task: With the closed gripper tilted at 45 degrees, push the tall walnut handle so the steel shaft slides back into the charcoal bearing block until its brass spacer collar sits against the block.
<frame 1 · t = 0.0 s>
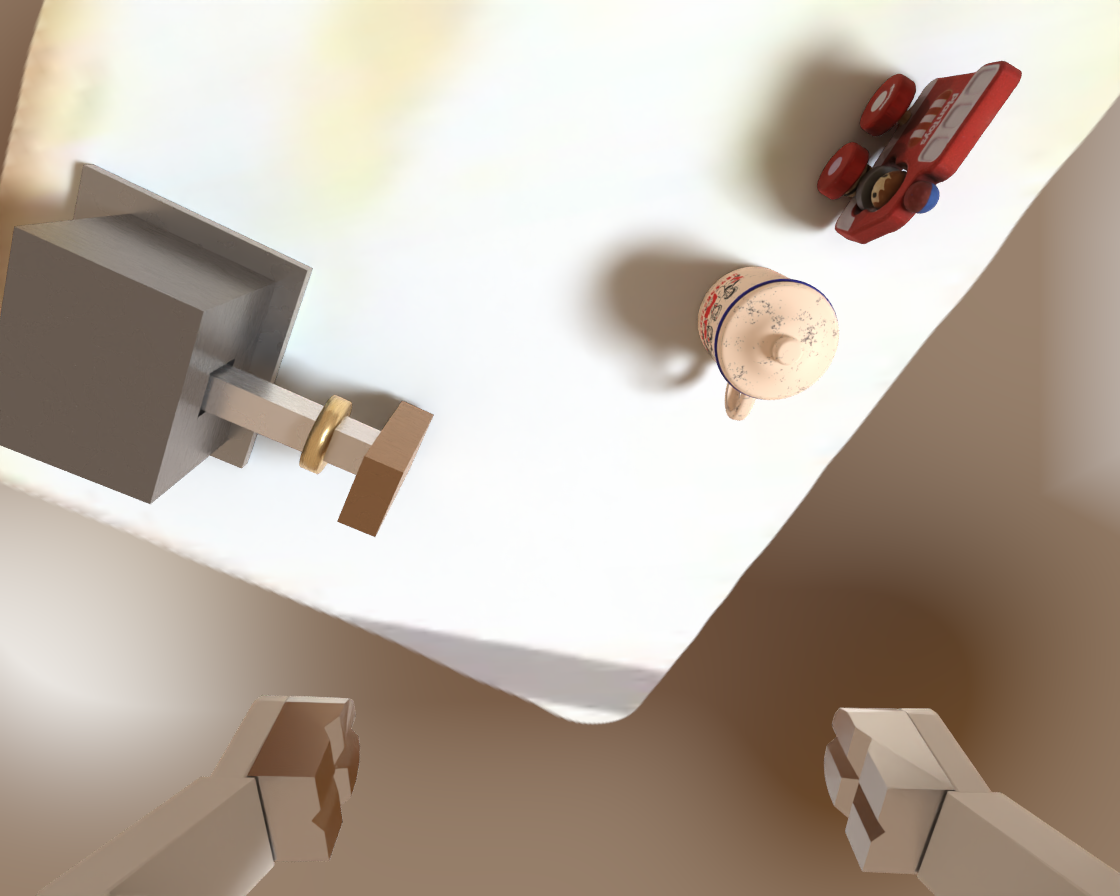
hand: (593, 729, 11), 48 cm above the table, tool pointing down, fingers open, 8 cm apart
shaft: (283, 417, 52), point 8 cm above the table, slide at 8.0 cm
bearing block: (189, 332, 57), on the table
toy fire truck: (877, 159, 52), on the table
teacup with lid: (740, 333, 57), on the table
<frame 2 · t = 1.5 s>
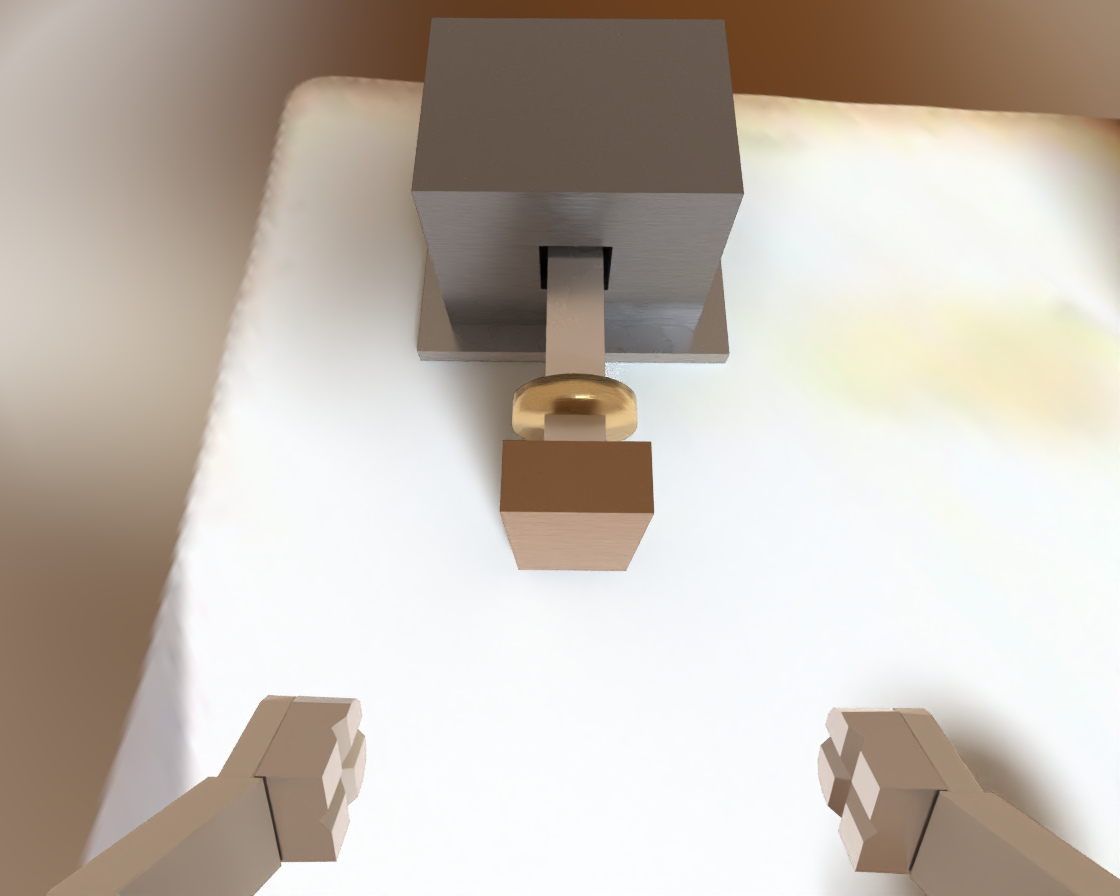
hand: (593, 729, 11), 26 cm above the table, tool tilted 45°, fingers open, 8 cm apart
shaft: (574, 351, 35), point 8 cm above the table, slide at 8.0 cm
bearing block: (573, 260, 46), on the table
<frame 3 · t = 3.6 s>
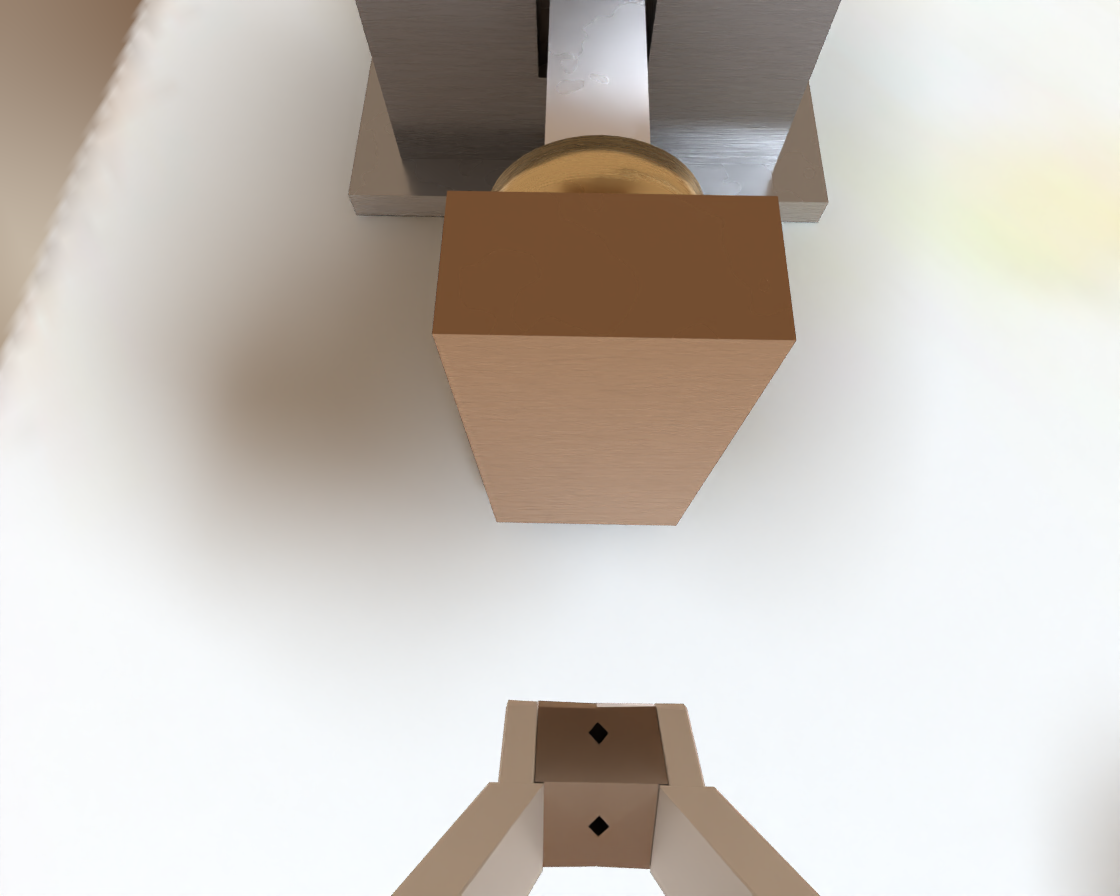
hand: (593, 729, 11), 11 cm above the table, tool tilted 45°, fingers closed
shaft: (595, 142, 20), point 8 cm above the table, slide at 8.0 cm
bearing block: (587, 83, 31), on the table
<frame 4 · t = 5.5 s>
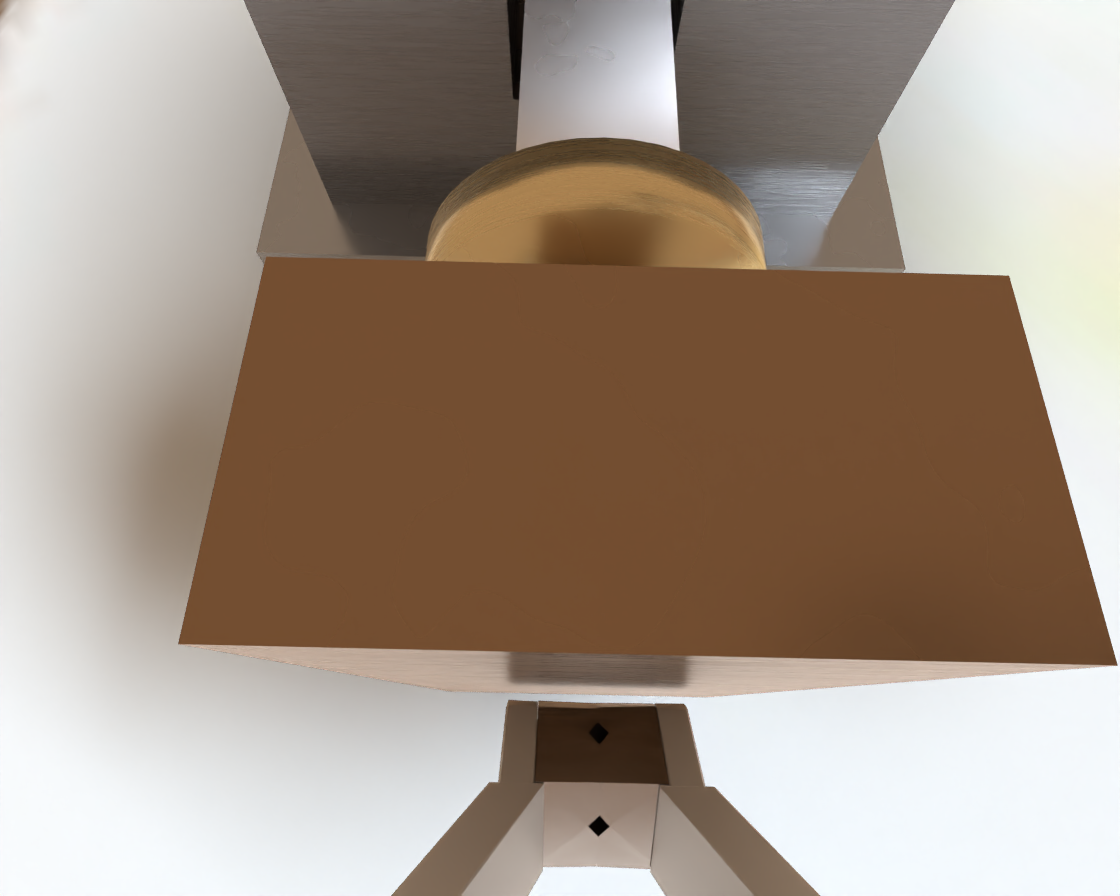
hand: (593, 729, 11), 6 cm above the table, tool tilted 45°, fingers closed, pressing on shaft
shaft: (594, 148, 14), point 7 cm above the table, slide at 6.5 cm, touching gripper
bearing block: (582, 103, 24), on the table
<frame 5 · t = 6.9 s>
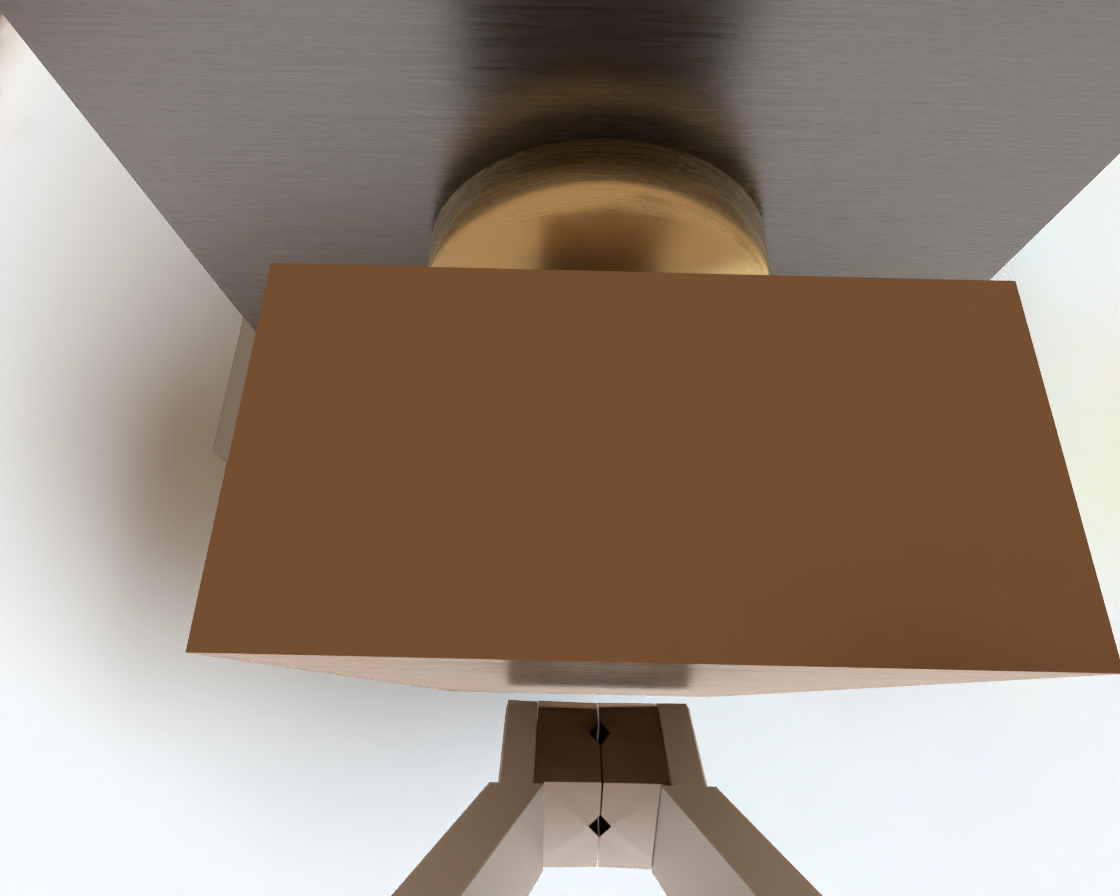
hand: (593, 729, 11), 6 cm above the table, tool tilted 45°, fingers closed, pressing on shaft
shaft: (596, 148, 14), point 7 cm above the table, slide at -0.1 cm, touching gripper
bearing block: (582, 247, 22), on the table
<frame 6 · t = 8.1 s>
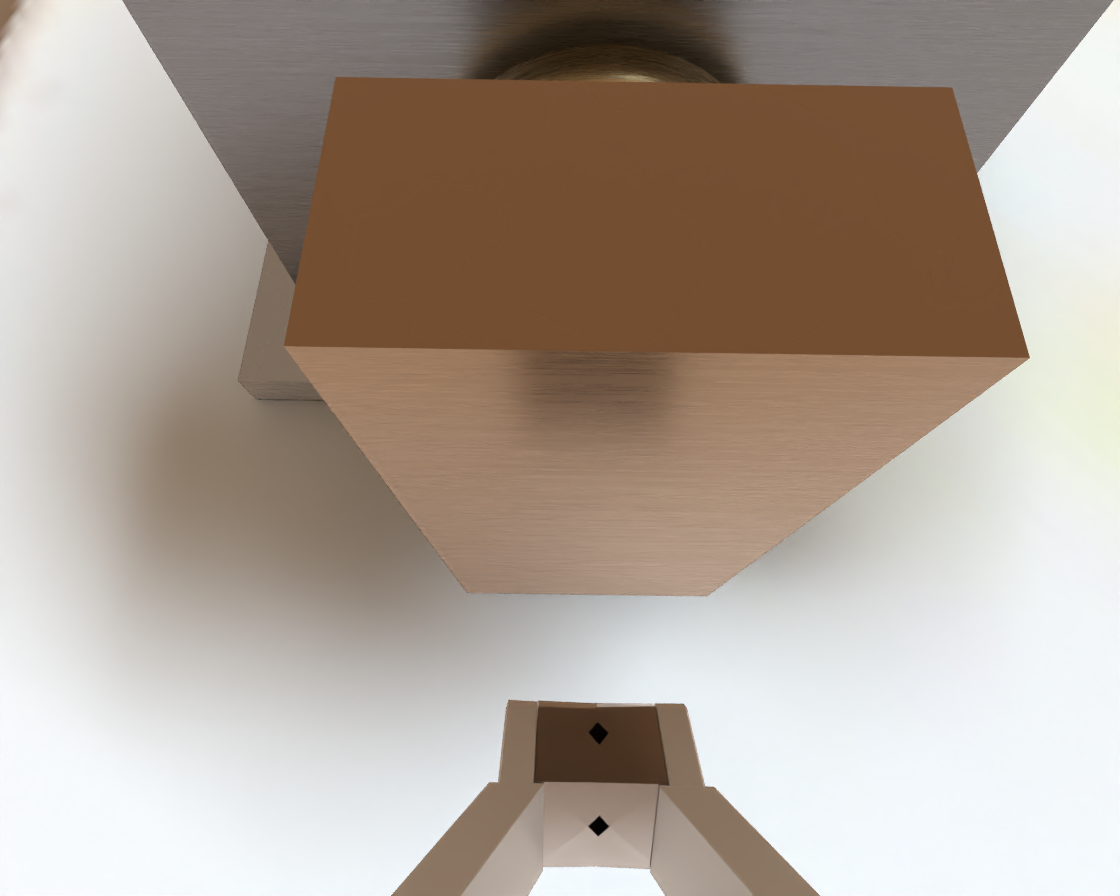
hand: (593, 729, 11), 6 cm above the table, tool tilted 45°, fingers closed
shaft: (598, 77, 15), point 7 cm above the table, slide at 0.0 cm
bearing block: (583, 197, 23), on the table
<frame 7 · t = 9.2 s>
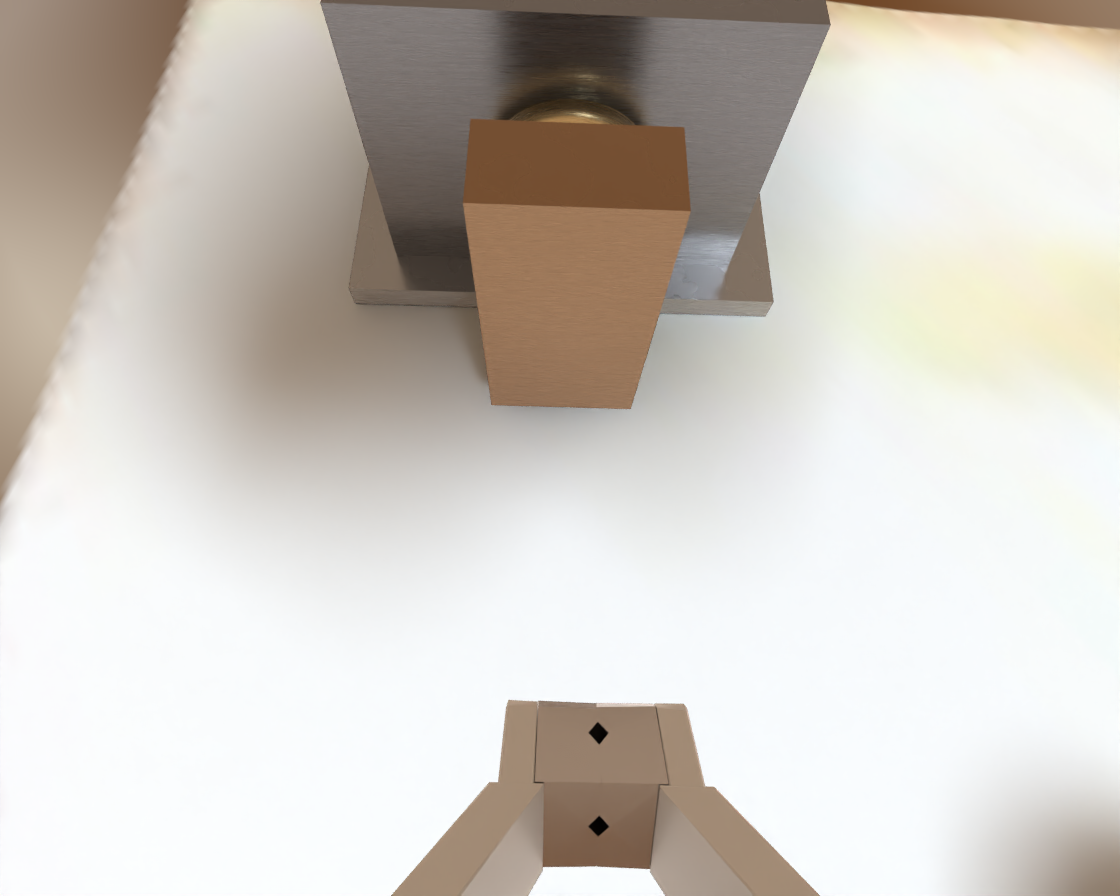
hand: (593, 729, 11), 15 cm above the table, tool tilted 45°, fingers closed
shaft: (570, 110, 27), point 7 cm above the table, slide at 0.0 cm
bearing block: (563, 183, 35), on the table
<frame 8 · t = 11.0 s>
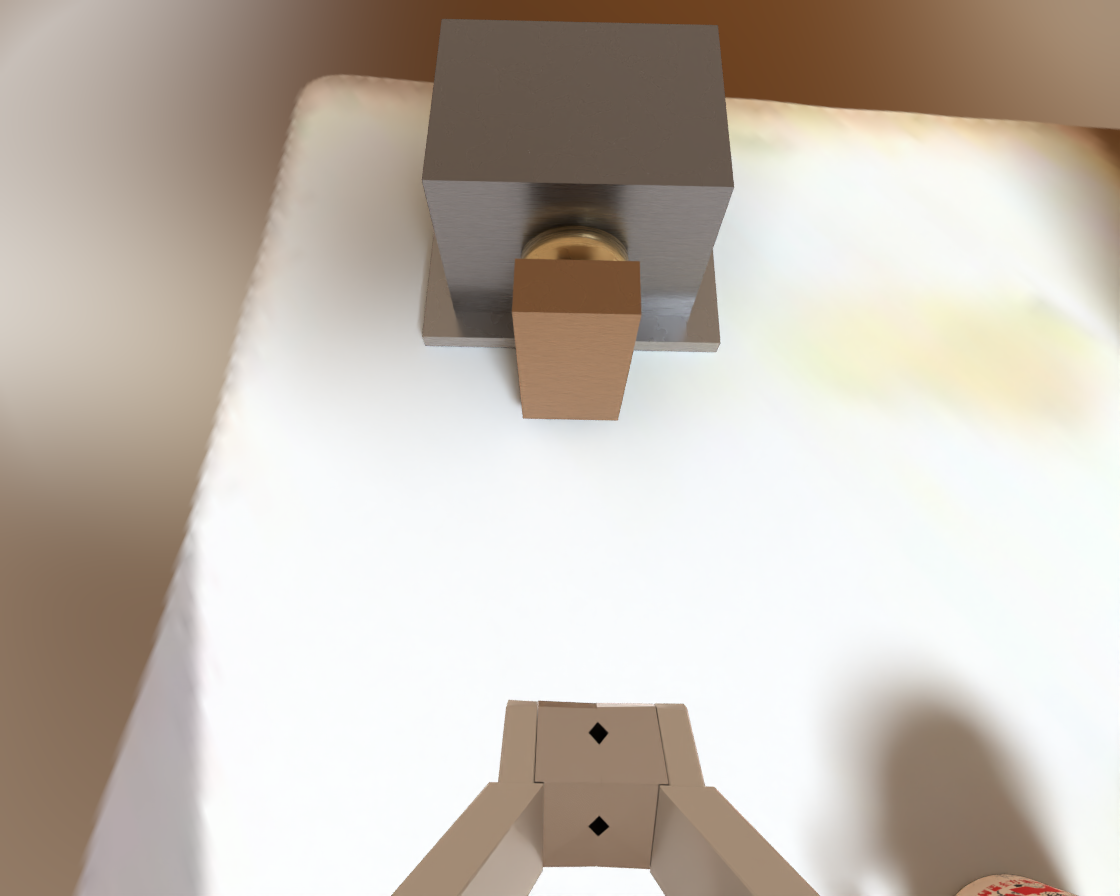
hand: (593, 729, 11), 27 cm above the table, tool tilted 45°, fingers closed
shaft: (575, 221, 40), point 7 cm above the table, slide at 0.0 cm
bearing block: (572, 253, 48), on the table
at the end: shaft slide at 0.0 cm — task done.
